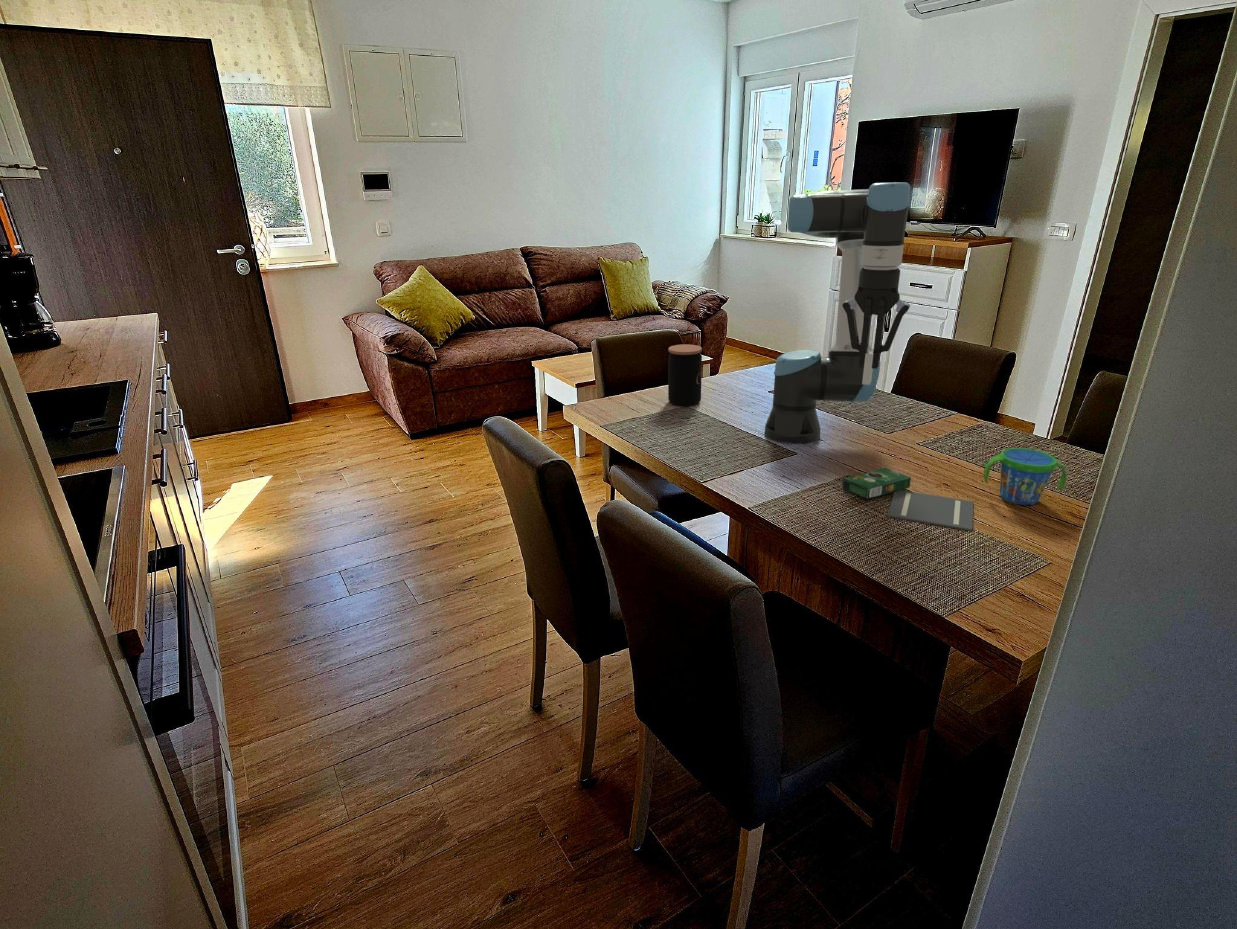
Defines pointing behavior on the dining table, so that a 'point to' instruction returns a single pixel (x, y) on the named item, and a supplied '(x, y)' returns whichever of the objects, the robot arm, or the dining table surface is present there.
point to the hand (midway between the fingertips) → (866, 382)
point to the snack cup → (1024, 474)
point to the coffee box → (876, 483)
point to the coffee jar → (684, 375)
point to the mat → (932, 509)
